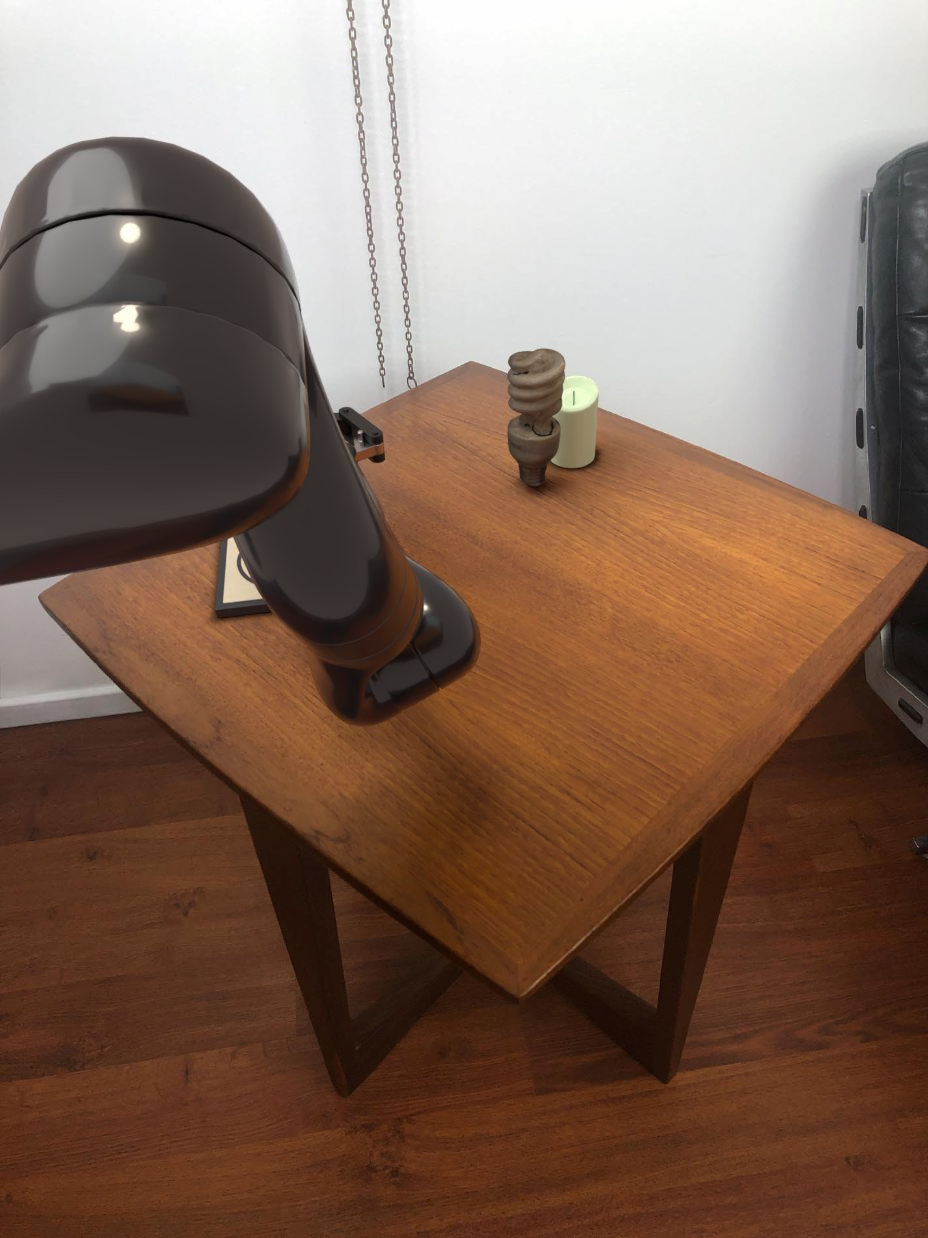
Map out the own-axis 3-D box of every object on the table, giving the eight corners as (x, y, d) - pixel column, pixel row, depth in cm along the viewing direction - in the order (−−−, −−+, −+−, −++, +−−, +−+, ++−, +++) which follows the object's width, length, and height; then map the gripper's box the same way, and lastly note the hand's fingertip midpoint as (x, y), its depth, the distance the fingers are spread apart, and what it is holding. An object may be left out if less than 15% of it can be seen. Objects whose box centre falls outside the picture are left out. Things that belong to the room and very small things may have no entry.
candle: (585, 472, 100) (589, 402, 95) (540, 463, 102) (542, 393, 97) (601, 449, 104) (605, 379, 98) (557, 440, 106) (559, 371, 100)
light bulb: (572, 484, 99) (578, 348, 89) (539, 508, 96) (542, 370, 86) (529, 466, 102) (530, 332, 92) (496, 489, 99) (493, 353, 89)
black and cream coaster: (217, 618, 85) (214, 608, 84) (224, 532, 95) (221, 522, 94) (363, 601, 86) (362, 590, 85) (355, 518, 96) (354, 508, 95)
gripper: (415, 446, 70) (351, 351, 82) (219, 489, 67) (182, 384, 79) (421, 530, 75) (359, 429, 87) (239, 575, 72) (201, 463, 84)
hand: (276, 408), depth 83 cm, fingers closed on beverage can, 5 cm apart
